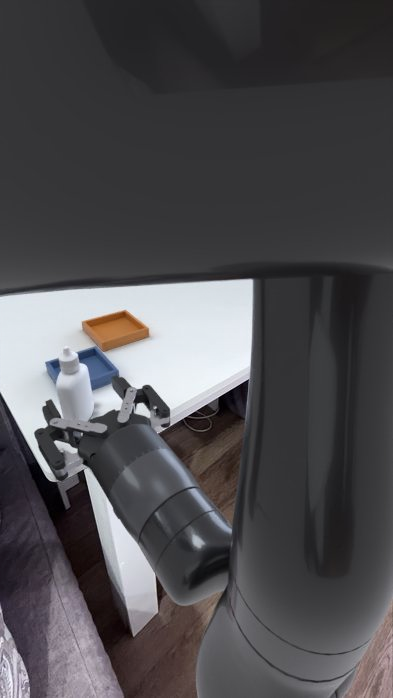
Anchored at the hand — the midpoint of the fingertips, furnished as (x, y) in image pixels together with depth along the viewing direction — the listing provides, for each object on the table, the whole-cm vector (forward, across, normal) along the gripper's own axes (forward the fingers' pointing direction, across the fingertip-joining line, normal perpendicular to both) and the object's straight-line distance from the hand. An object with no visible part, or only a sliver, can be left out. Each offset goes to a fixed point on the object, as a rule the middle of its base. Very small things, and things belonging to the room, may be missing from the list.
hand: (83, 392), depth 43 cm
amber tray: (+23, -15, +7) cm, 28 cm away
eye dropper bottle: (+4, 0, +7) cm, 8 cm away
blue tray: (+13, -4, +7) cm, 15 cm away
